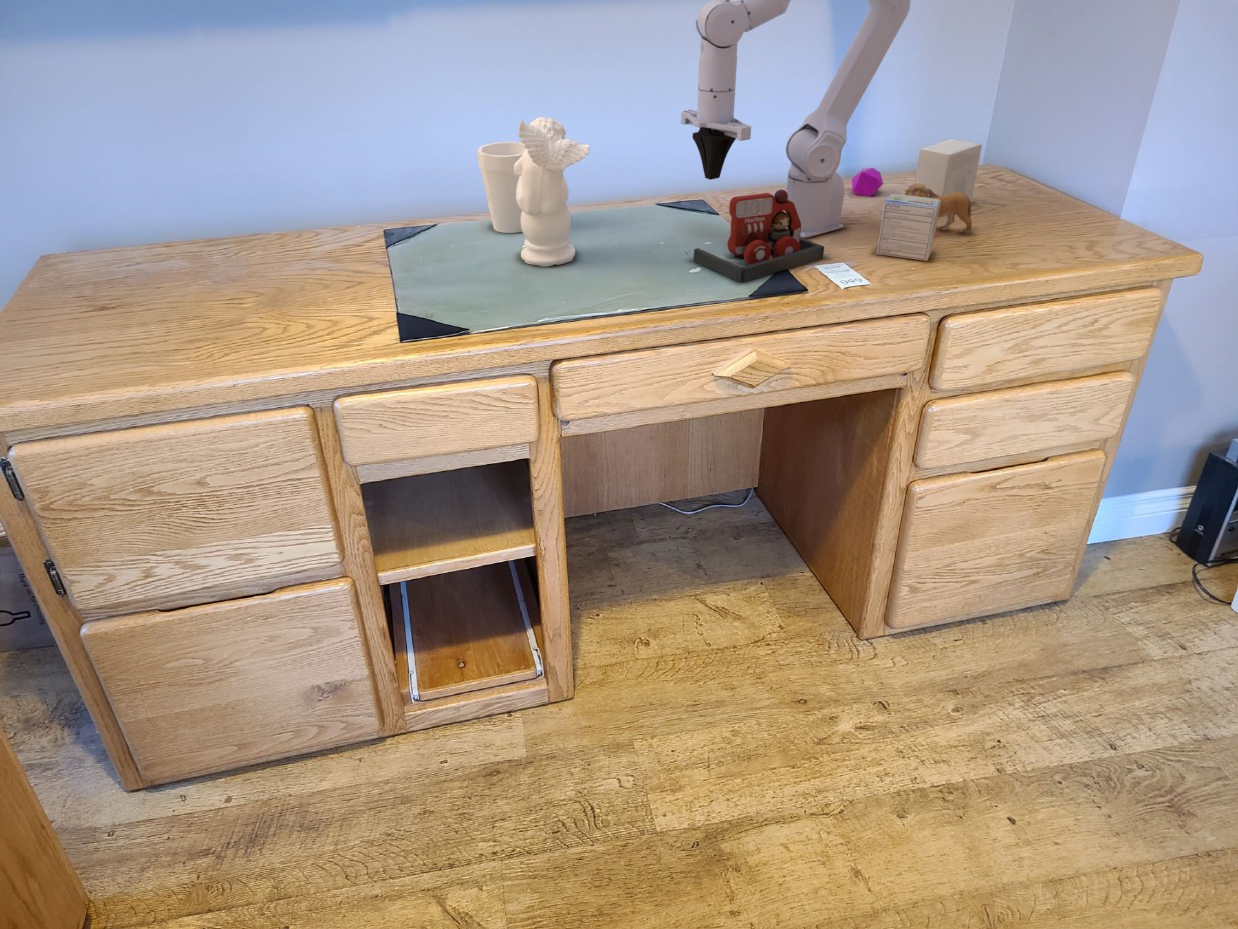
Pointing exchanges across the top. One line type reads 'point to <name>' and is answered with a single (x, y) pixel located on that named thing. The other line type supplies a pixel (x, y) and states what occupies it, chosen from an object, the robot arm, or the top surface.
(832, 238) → the top surface
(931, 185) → the cosmetics box
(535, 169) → the cherub figurine
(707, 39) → the robot arm
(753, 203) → the toy fire truck
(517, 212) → the white flower pot
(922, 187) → the lion figurine
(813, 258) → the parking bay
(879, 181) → the crystal
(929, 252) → the medicine box
